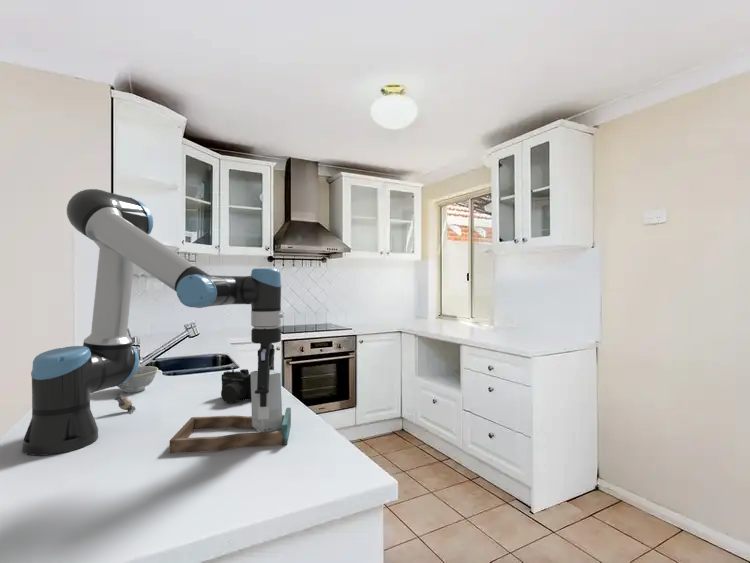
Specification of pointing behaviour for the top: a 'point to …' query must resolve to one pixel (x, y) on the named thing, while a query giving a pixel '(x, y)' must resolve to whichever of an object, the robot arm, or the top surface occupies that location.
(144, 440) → the top surface
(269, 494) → the top surface
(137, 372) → the bowl
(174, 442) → the brown wooden frame
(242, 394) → the camera
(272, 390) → the skincare box
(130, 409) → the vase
